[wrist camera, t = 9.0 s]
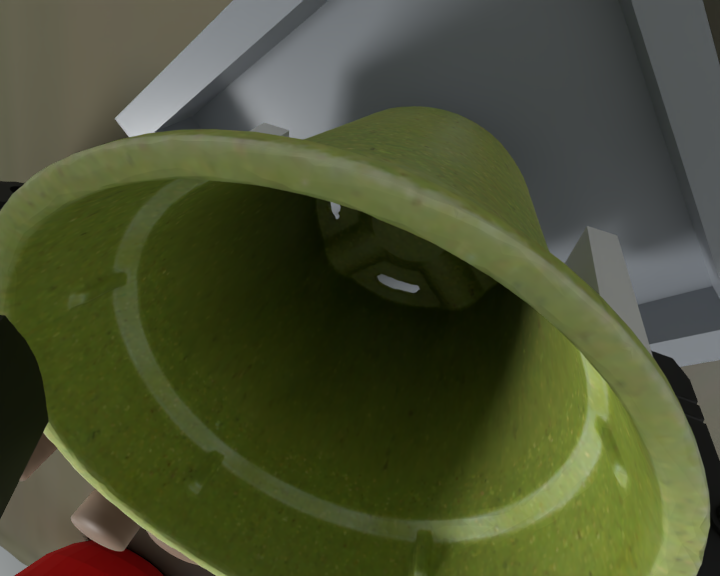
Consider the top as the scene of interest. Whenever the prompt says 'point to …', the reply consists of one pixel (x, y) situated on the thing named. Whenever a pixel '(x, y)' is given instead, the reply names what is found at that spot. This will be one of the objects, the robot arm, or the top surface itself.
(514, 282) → the plant pot
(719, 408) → the top surface
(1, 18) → the top surface
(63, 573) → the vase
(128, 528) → the posts
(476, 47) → the tray
